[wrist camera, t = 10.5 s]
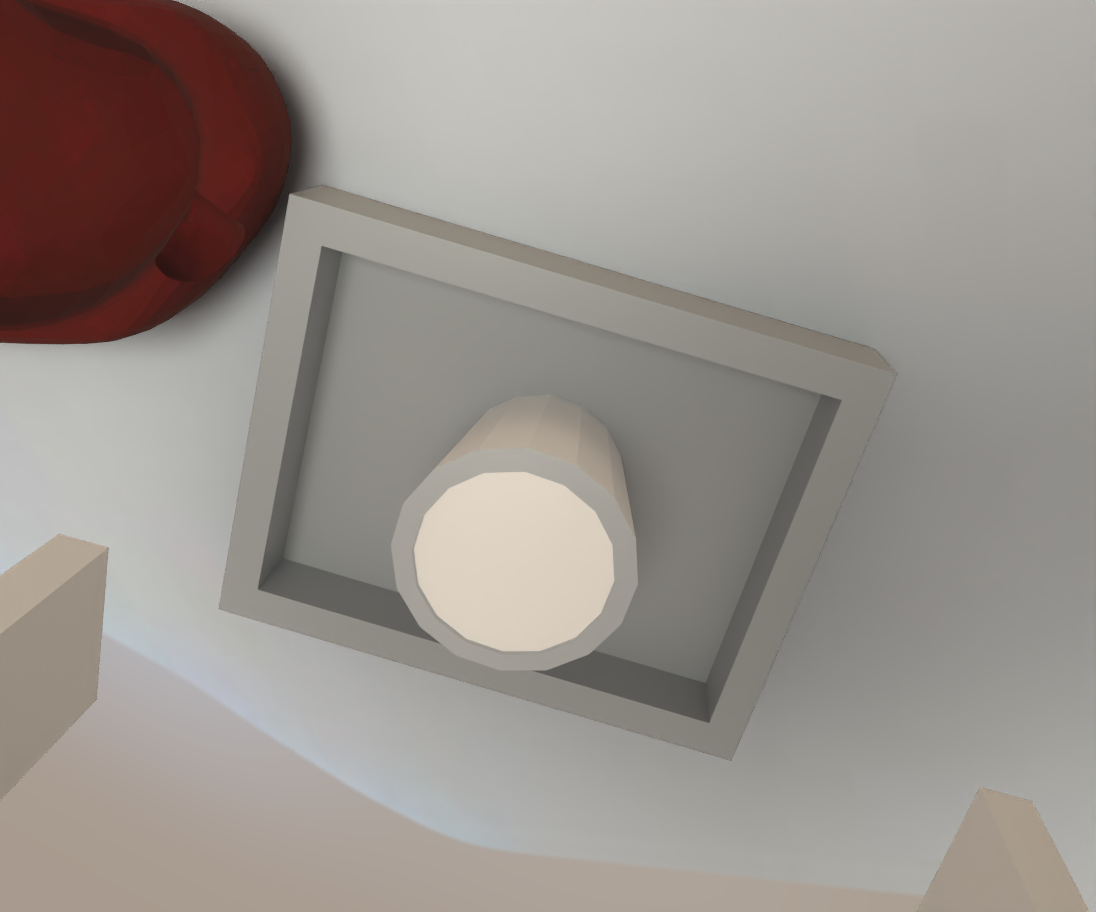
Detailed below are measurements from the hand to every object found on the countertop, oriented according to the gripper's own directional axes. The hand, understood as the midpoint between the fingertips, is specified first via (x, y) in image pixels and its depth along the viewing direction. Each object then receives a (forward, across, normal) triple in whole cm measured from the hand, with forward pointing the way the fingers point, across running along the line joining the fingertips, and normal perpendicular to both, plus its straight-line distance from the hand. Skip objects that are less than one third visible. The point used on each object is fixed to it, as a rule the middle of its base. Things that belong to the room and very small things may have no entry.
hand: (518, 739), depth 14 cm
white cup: (+19, +1, +3) cm, 19 cm away
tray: (+19, +1, +4) cm, 19 cm away
